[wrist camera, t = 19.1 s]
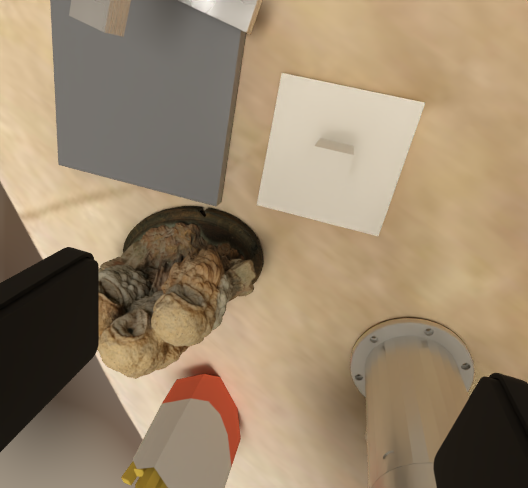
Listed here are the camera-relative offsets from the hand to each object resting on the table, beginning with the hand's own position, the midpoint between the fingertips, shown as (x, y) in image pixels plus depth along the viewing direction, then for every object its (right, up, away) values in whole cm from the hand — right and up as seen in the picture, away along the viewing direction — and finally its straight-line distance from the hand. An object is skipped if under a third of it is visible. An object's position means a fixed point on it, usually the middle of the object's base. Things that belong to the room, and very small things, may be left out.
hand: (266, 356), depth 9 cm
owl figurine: (-8, +2, +33) cm, 34 cm away
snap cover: (+7, +11, +26) cm, 29 cm away
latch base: (-11, +21, +25) cm, 35 cm away
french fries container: (-7, -18, +41) cm, 45 cm away
